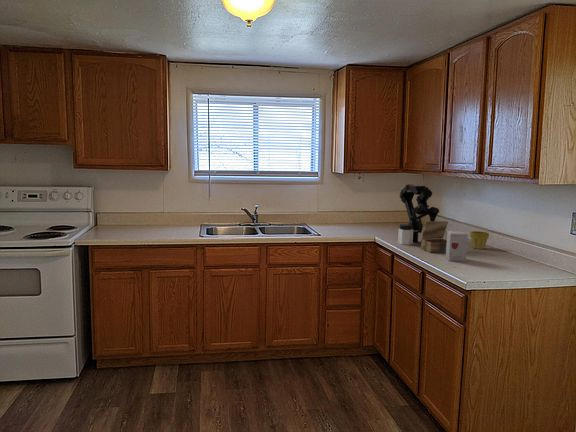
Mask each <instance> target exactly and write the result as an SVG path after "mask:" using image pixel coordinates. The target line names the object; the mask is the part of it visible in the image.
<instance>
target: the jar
mask: <svg viewBox="0 0 576 432" xmlns="http://www.w3.org/2000/svg"><path fill="white" fill-rule="evenodd" d="M398 227H399V228H398V235H397V236H398V237H397V244H399V245H403V246H404V245H405V246H406V245H407V246H410V245H413V244H414V242H413V225H410V224H408V223H402V224H401V223H400V224H399V226H398Z"/></svg>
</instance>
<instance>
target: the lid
mask: <svg viewBox="0 0 576 432" xmlns="http://www.w3.org/2000/svg"><path fill="white" fill-rule="evenodd" d="M448 223H449V221H447V220H439V221H436V220H435V221H430V220H429V221H425V224H424V226H423V229H422V233H421V237H420V239H444V236H445V232H446V230H447V227H448Z"/></svg>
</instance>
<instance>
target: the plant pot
mask: <svg viewBox="0 0 576 432" xmlns="http://www.w3.org/2000/svg"><path fill="white" fill-rule="evenodd" d="M469 233H470V235H469V236H470V239H471V244H472V248H473V249H476V250H485V248H486V244H487V240H488V239H489V237H490V236H489V235H490V233H489V232H486V231H480V230H479V231H478V230H472V231H470V232H469Z"/></svg>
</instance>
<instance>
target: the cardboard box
mask: <svg viewBox="0 0 576 432" xmlns="http://www.w3.org/2000/svg"><path fill="white" fill-rule="evenodd" d="M420 239H421V238H420ZM446 246H447V239H444V238H441V239H421V240H420V250H422V249H423V251H424V252H427V251H428V252H427V253H430V254H439V253H440V254H441V253H442V252H446ZM442 254H443V253H442Z"/></svg>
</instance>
